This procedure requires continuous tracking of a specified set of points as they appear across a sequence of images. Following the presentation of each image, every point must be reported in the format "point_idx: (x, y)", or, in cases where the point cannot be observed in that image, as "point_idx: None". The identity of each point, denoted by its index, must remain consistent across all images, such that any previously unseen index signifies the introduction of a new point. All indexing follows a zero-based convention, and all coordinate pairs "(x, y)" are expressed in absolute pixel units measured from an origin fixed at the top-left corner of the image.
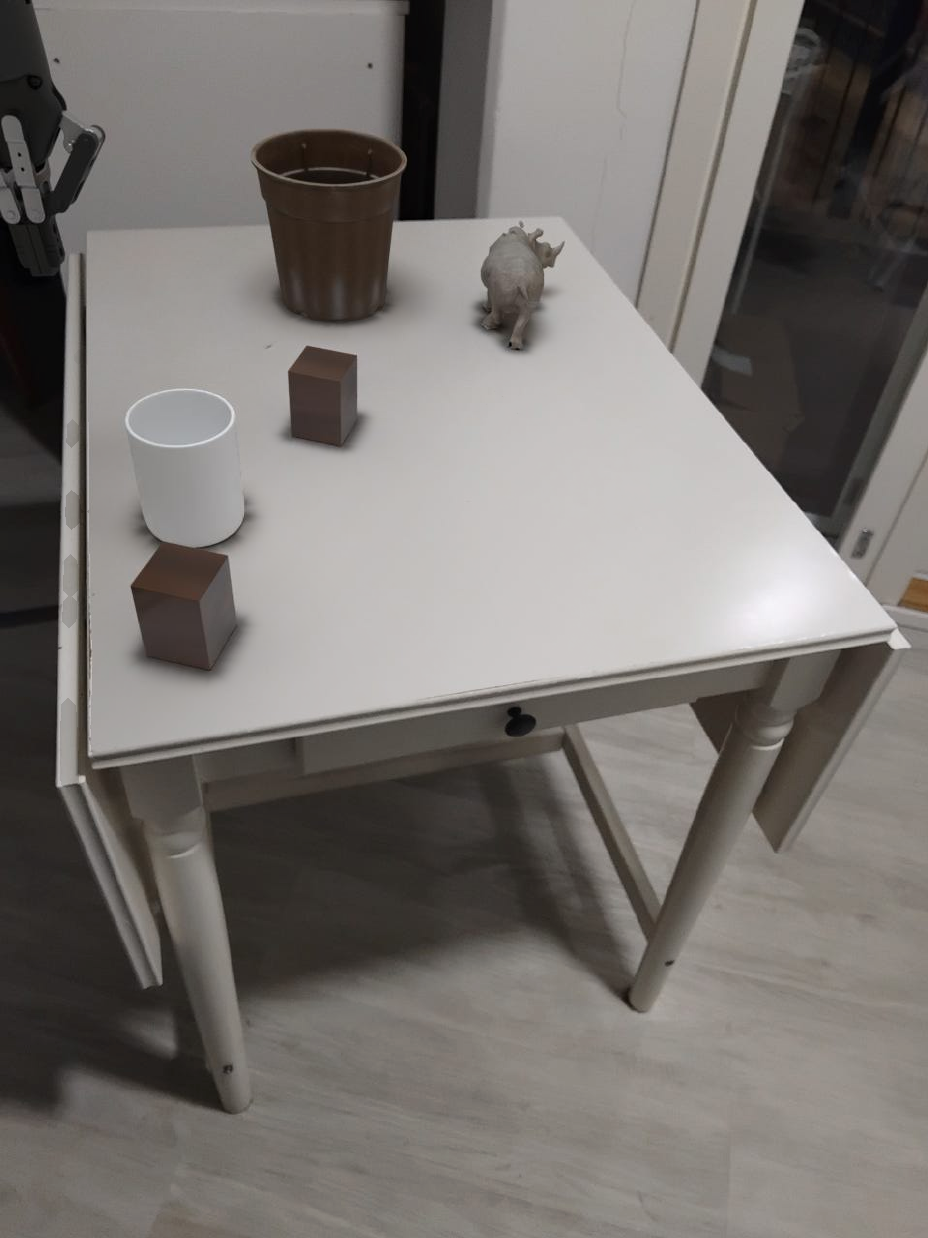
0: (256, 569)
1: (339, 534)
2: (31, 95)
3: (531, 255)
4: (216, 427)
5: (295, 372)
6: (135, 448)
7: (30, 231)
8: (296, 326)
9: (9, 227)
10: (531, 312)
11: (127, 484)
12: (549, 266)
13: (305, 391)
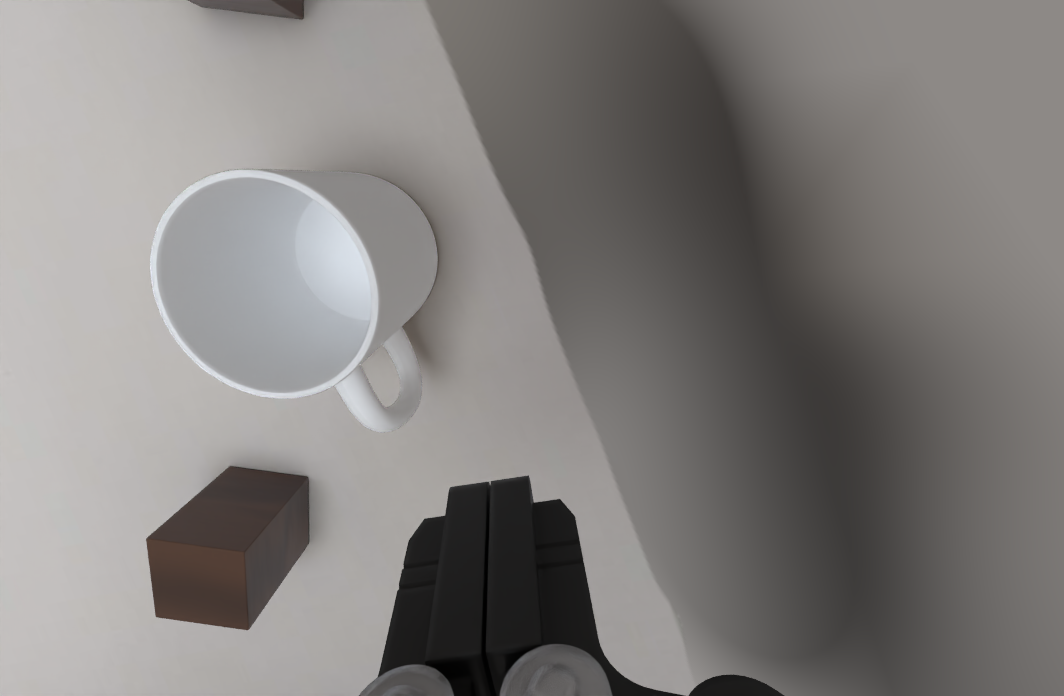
0: (229, 150)
1: (147, 260)
2: None
3: None
4: (281, 357)
5: (229, 550)
6: (339, 197)
7: (472, 619)
8: None
9: (597, 638)
10: None
11: (499, 317)
12: None
13: (232, 525)
